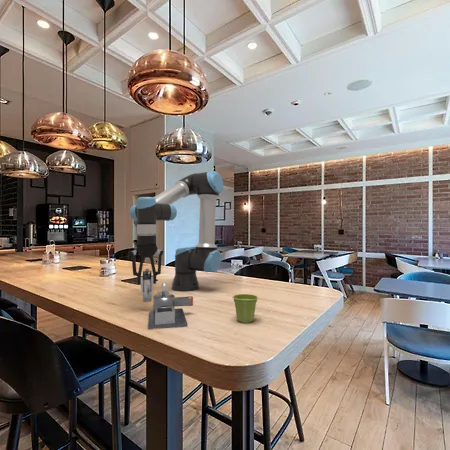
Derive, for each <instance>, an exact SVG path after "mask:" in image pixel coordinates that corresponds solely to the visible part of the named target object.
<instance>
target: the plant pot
mask: <svg viewBox="0 0 450 450" xmlns="http://www.w3.org/2000/svg"><path fill="white" fill-rule="evenodd" d="M232 299H233V302H234V307H235V314H236V315H235V316H236V321H237V322H241V323H244V324H245V323H251V322H254V320H255V311H256V305H257V303H258V299H259V296H258V295H256V294H255V295H254V294H250V293H241V294H240V293H239V294H234V295H232Z"/></svg>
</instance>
